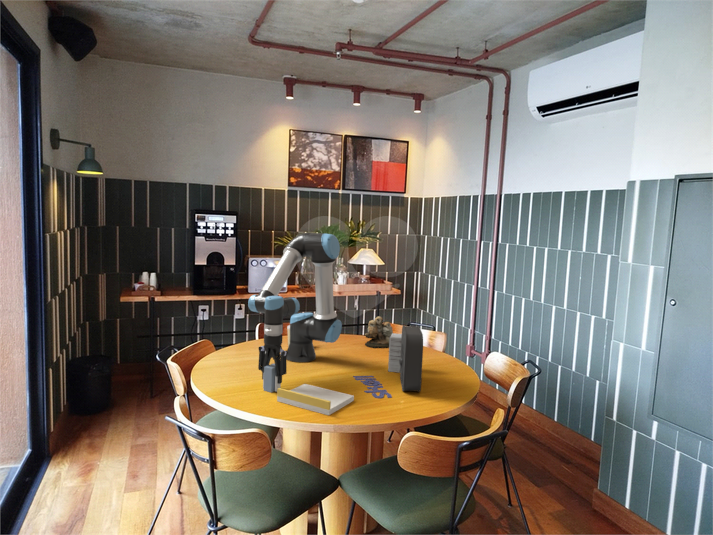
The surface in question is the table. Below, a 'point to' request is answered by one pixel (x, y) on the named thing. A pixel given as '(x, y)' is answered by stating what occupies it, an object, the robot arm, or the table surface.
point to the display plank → (314, 398)
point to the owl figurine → (378, 333)
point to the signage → (374, 383)
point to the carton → (269, 378)
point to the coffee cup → (288, 334)
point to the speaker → (411, 358)
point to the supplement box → (394, 352)
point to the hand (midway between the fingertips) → (271, 388)
